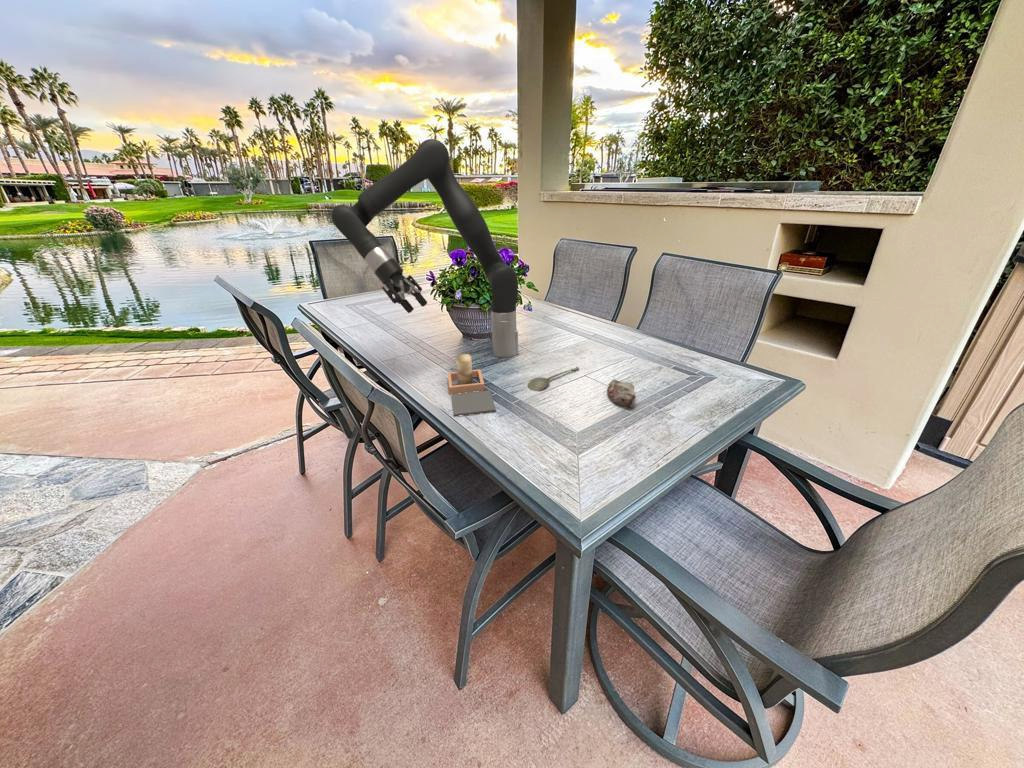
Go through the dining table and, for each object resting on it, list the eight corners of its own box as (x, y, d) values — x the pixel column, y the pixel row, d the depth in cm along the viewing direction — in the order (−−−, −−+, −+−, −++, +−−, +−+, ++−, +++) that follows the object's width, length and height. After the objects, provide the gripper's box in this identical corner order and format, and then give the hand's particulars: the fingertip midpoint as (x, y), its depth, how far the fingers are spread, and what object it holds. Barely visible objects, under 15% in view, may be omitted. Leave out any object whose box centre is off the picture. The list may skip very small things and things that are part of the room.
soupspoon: (522, 388, 128) (536, 397, 123) (522, 379, 126) (536, 388, 122) (571, 367, 139) (584, 374, 135) (571, 359, 137) (585, 366, 133)
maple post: (472, 381, 131) (470, 353, 127) (474, 387, 127) (471, 359, 122) (458, 382, 130) (455, 354, 126) (459, 389, 126) (456, 360, 122)
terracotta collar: (480, 375, 134) (480, 369, 133) (484, 390, 125) (484, 383, 124) (448, 379, 133) (447, 372, 132) (449, 394, 123) (449, 387, 122)
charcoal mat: (490, 392, 124) (490, 390, 123) (495, 411, 113) (495, 409, 113) (451, 396, 122) (451, 394, 121) (454, 416, 111) (453, 414, 111)
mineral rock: (606, 385, 126) (607, 373, 124) (632, 387, 125) (634, 375, 123) (606, 409, 113) (607, 395, 111) (634, 411, 112) (636, 398, 110)
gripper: (377, 260, 112) (414, 306, 114) (403, 254, 124) (436, 296, 127) (362, 276, 115) (399, 321, 118) (389, 269, 128) (422, 309, 130)
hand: (418, 308), depth 122 cm, fingers open, 8 cm apart
